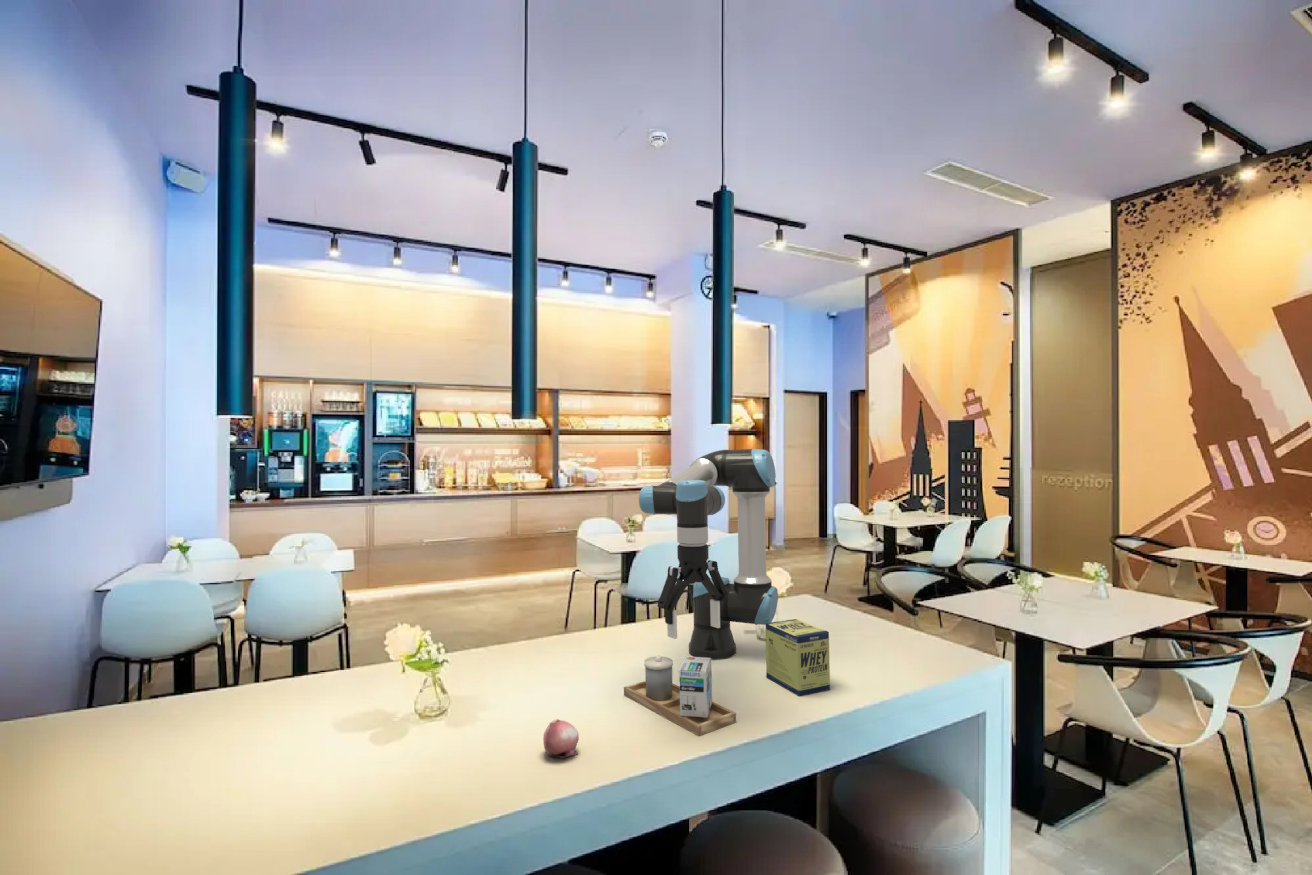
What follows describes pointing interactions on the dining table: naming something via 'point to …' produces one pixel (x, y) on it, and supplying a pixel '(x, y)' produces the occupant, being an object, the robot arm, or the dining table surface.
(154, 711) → the dining table surface
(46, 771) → the dining table surface
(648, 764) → the dining table surface
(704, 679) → the light bulb box
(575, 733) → the onion
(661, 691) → the slate jar
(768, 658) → the protein box
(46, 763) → the dining table surface
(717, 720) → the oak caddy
